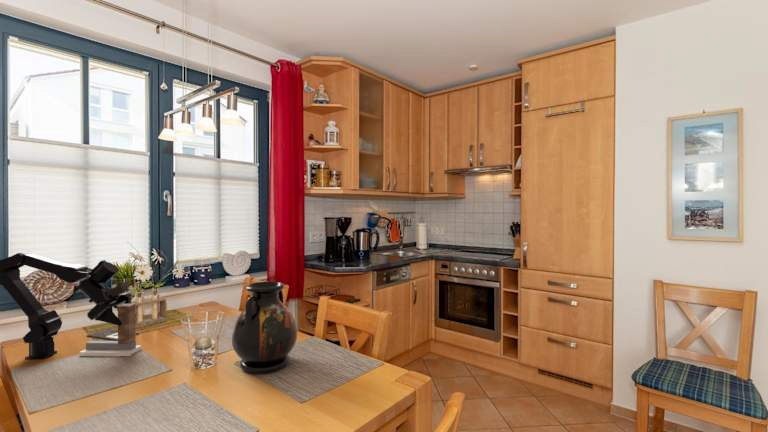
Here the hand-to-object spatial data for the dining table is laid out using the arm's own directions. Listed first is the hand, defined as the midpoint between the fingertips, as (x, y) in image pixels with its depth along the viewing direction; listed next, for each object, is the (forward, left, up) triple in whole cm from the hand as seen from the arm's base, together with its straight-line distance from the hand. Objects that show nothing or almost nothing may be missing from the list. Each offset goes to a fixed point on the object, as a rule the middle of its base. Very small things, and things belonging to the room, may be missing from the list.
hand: (128, 320), depth 139 cm
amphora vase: (+54, -10, -12) cm, 57 cm away
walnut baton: (-1, 0, -8) cm, 8 cm away
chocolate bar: (-20, +19, -13) cm, 30 cm away
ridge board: (-7, 0, -12) cm, 14 cm away
